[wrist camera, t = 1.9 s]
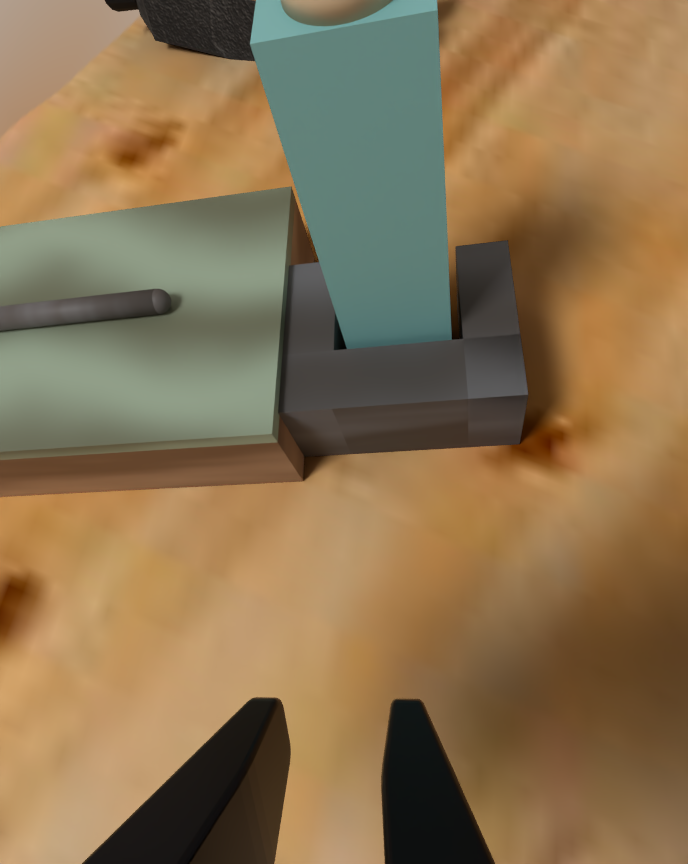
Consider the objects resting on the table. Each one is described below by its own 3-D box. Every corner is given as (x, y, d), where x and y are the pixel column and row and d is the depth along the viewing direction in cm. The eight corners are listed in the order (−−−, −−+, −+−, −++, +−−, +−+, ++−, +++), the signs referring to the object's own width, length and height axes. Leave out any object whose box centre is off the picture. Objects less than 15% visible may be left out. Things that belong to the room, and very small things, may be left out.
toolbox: (522, 469, 24) (536, 401, 19) (-73, 500, 28) (-186, 452, 23) (494, 236, 29) (499, 136, 24) (-4, 294, 33) (-84, 220, 29)
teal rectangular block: (453, 383, 26) (435, -35, 12) (360, 390, 26) (237, 4, 12) (449, 325, 27) (429, -112, 13) (360, 333, 28) (249, -74, 14)
